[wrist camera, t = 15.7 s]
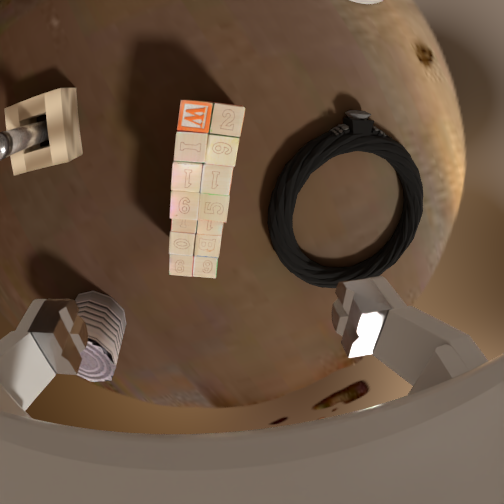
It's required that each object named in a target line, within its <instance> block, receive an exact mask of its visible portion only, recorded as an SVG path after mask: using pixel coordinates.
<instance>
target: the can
mask: <svg viewBox="0 0 504 504" xmlns="http://www.w3.org/2000/svg"><path fill="white" fill-rule="evenodd" d="M75 301H76V303H77V305H78V307H79V312H78V315H79V316H80V317H81V318H82V319H83V320H84V321H85V324H86V326H87V330H88V342H87V346H86V348H85V349H84V350H83V351H82V352H81V353H80V355H81V357H82V361H81V364H80V367H79V371H78V374H77V375H78V376H80V377H83V378H85V379H87V380H89V381H91V382H96V381H111V380H112V377H113V374H114V371H115V368H116V363H117V359H118V355H119V351H120V346H121V342H122V338H123V334H124V331H125V327H126V319H125V313H124V309H123V308H122V307H121V306H120V305H119V304H118V303H117V302H116V301H115V300H114V299H113V298H112V297H111V296H108V295H105V294H102V293H99V292H97V291H89V292H85V293H80V294H78V296H77V298H76V299H75Z"/></svg>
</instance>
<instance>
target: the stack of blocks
mask: <svg viewBox="0 0 504 504" xmlns="http://www.w3.org/2000/svg"><path fill="white" fill-rule="evenodd" d="M244 114H245V107H242V106H239V105H232V104H225V103H217V102H209V101H197V100H186V99H185V100H181V103H180V110H179V118H178V125H177V132H176V139H175V150H174V161H173V164H172V177H171V199H170V218H171V219H172V220H171V230H170V237H169V254H170V261H169V275H180V276H190V277H191V276H196V277H208V278H216V273H217V265H218V257H219V252H220V244H221V236H222V230H223V222H226V220H227V213H228V205H229V198H230V195H229V193H230V186H231V180H232V173H233V167H234V166H235V162H236V156H237V150H238V144H239V137H240V135H241V130H242V124H243V119H244Z"/></svg>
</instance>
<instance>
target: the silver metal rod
mask: <svg viewBox="0 0 504 504" xmlns="http://www.w3.org/2000/svg"><path fill="white" fill-rule="evenodd" d="M47 140H49V137H48V128H47V120H44V121H40V122H36V123H32V124H29V125H25V126H21V127H18V128H14V129H11V130H8V131H3V132H0V160H2V159H4V158H6V157H8V156H10V155H12V154H14V153H17V152H19V151H21V150H24V149H26V148H29V147H31V146H34V145H36V144H39V143H41V142H44V141H47Z"/></svg>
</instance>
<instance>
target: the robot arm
mask: <svg viewBox="0 0 504 504" xmlns="http://www.w3.org/2000/svg"><path fill="white" fill-rule="evenodd" d="M350 1H353V2H357V3H362V4H374V3H379V2H381V1H383V0H350ZM335 293H336V295H337V297H338V299H337V300H336V301H335V302H334V303H333V307H332V322H333V326H334V328H335V331H336V332H337V333H338V334H340V335H341V336H343V337H342V341H341V344H342V346H343V348H344V350H345V352H346V354H347V356H348V358H351V357H356V356H362V355H367V354H372V353H373V354H372V355H373V356H375V357H376V358H377V359H379V360H380V361H381V362H383V363H384V364H385V365H386V366H388V367H389V368H390V369H392V370H393V371H394V372H396V373H397V374H398V375H399V376H401V377H402V378H403V379H405V380H406V381H407V382H409V383H410V384H411V385H412V386H413V387H412V389H411V391H410V392H409V393H408V395H407V396H404V397H402V398H399V399H395V400H392V401H390V402H386V403H383V404H379V405H376V406H373V407H369V408H366V409H362V410H358V411H354V412H351V413H346V414H343V415H338V416H334V417H329V418H324V419H320V420H315V421H309V422H304V423H298V424H293V425H287V426H280V427H273V428H266V429H258V430H248V431H238V432H225V433H210V434H139V433H123V432H112V431H102V430H93V429H86V428H78V427H72V426H66V425H60V424H55V423H49V422H45V421H40V420H35V419H32V418H31V417H30V416H29V415H28V414H27V413H26V412H25V410H26V409H27V408H28V407H29V406H30V404H31V403H32V402H33V401H34V400H35V398H36V397H37V396H38V395H39V394H40V393H41V391H42V390H43V389H44V388H45V387H46V386H47V385H48V383H49V382H50V381H51V380H52V379H53V378H54V377H55V375H56V374H72V375H77V374H78V371H79V367H80V364H81V361H82V357H81V355H80V353H81V352H82V351H83V350H84V349H85V348H86V346H87V342H88V330H87V326H86V324H85V321H84V320H83V319H82V318H81V317H80V316H79V315H78V312H79V307H78V305H77V303H76V301H75V300H73V299H35V300H33V302H32V303H31V305H30V307H29V308H28V310H27V312H26V313H25V315H24V317H23V318H22V320H21V322H20V324H19V325H18V327H17V329H16V331H12V332H10V333H9V334H8V335H6V336H5V337H4V338H2V339H1V340H0V504H504V353H503V354H501V355H499V356H498V357H496V358H494V359H492V360H490V361H488V360H487V359H486V357H485V356H484V354H483V353H482V352H481V350H480V349H479V348H478V346H477V345H476V344H475V342H474V341H473V340H472V338H471V337H470V336H469V335H468V334H466V333H464V332H462V331H460V330H458V329H456V328H454V327H452V326H450V325H448V324H446V323H444V322H442V321H440V320H438V319H436V318H434V317H433V316H430V315H428V314H427V313H424V312H423V311H421V310H419V309H417V308H415V307H413V306H407V305H406V304H405V303H404V301H403V300H402V299H401V298H400V296H399V295H398V294H397V292H396V291H395V290H394V289H393V287H392V286H391V285H390V284H389V282H388V281H387V280H386V279H385V278H384V277H382V276H377V277H371V278H367V279H359V280H351V281H342V282H339V283H338V285H337V287H336V292H335ZM55 373H56V374H55Z"/></svg>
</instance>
